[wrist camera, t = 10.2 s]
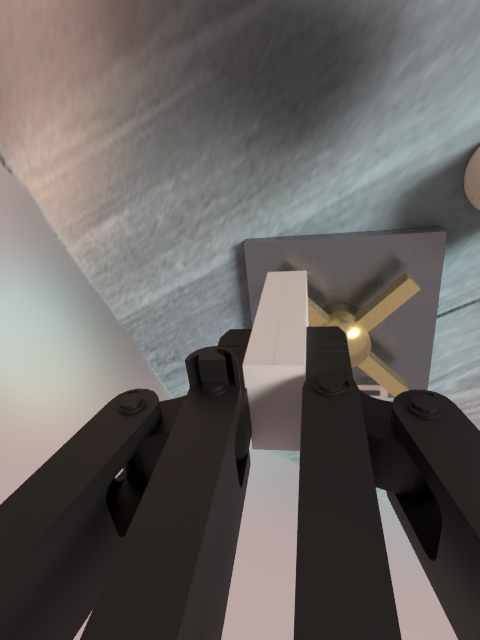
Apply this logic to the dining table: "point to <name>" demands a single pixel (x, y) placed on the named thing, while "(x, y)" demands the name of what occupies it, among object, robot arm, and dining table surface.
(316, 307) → the capstan
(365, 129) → the dining table surface
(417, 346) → the stand
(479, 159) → the teacup with lid
